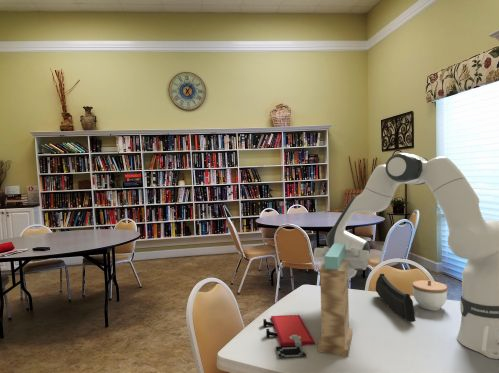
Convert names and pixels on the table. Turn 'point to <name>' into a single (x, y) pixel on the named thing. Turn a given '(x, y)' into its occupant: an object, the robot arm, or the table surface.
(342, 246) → the rod
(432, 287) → the lidded bowl
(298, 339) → the red board with handle
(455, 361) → the table surface
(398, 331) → the table surface
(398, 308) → the magazine
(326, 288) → the pedestal
